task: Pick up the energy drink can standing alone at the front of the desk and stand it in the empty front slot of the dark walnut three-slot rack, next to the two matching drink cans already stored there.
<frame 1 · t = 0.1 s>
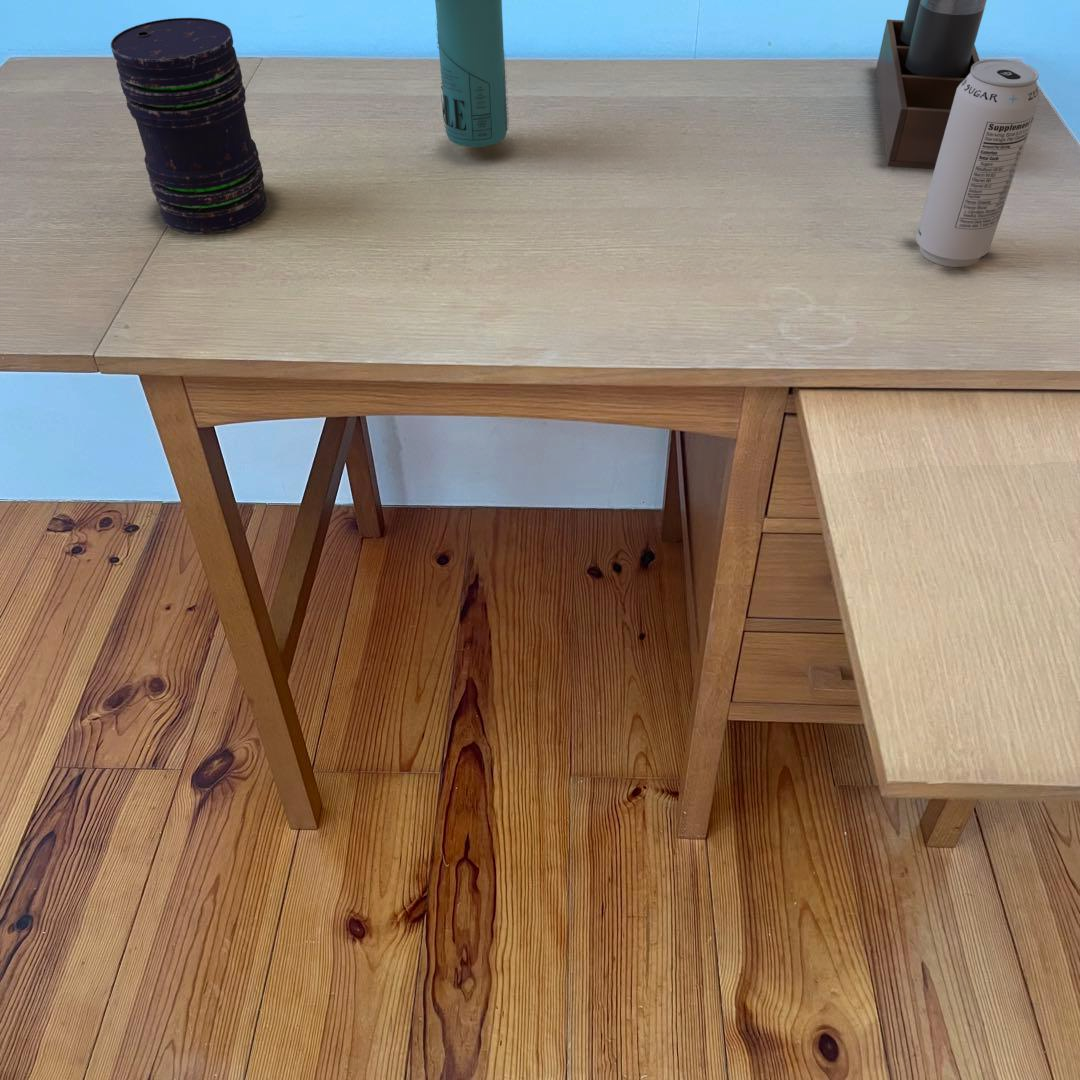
energy drink can: (948, 254, 86), on the table
beverage bottle: (477, 150, 102), on the table
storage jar: (215, 210, 93), on the table
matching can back: (918, 83, 111), resting on can rack
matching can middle: (924, 112, 105), resting on can rack
can rack: (923, 117, 106), on the table
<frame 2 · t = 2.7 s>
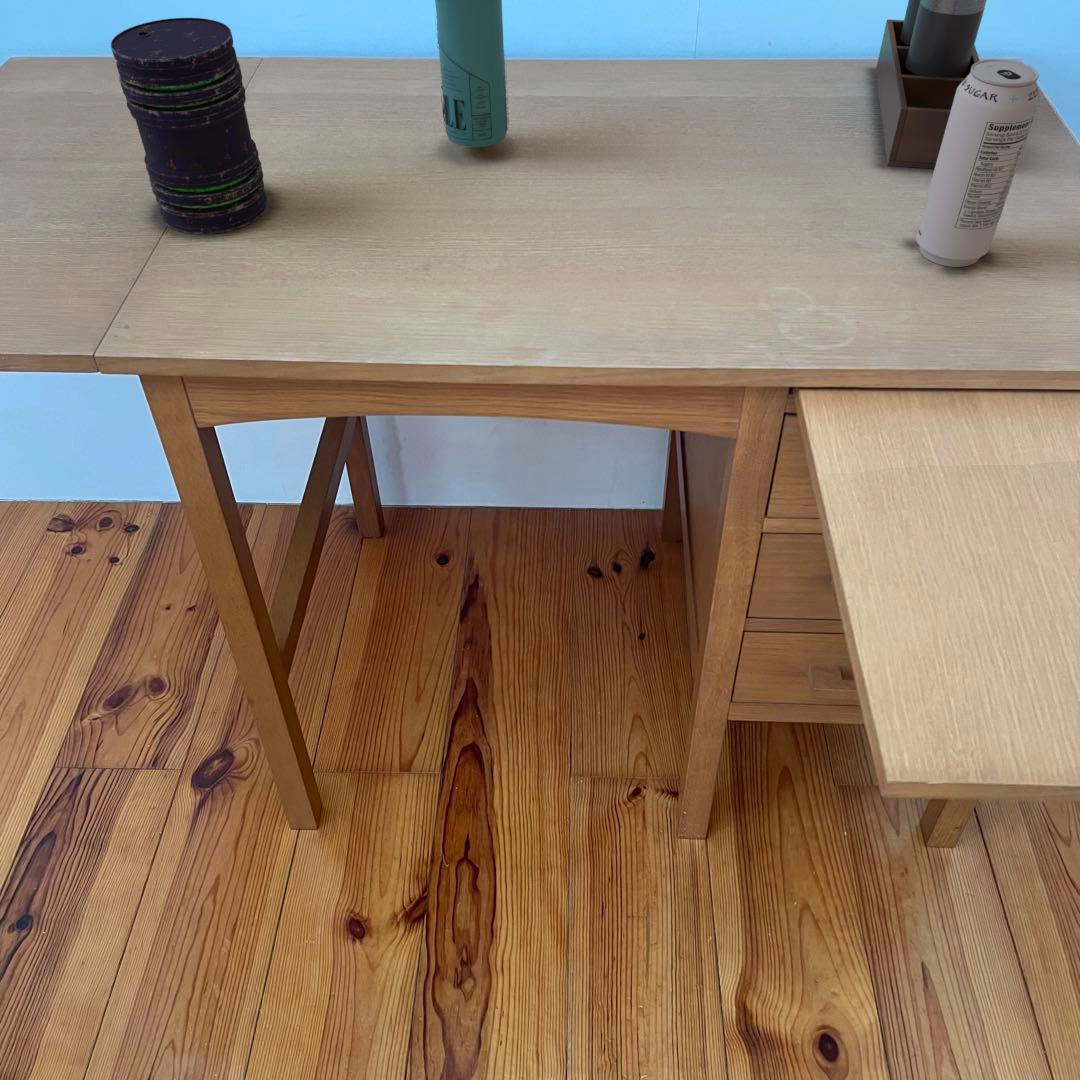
nothing on the table moved.
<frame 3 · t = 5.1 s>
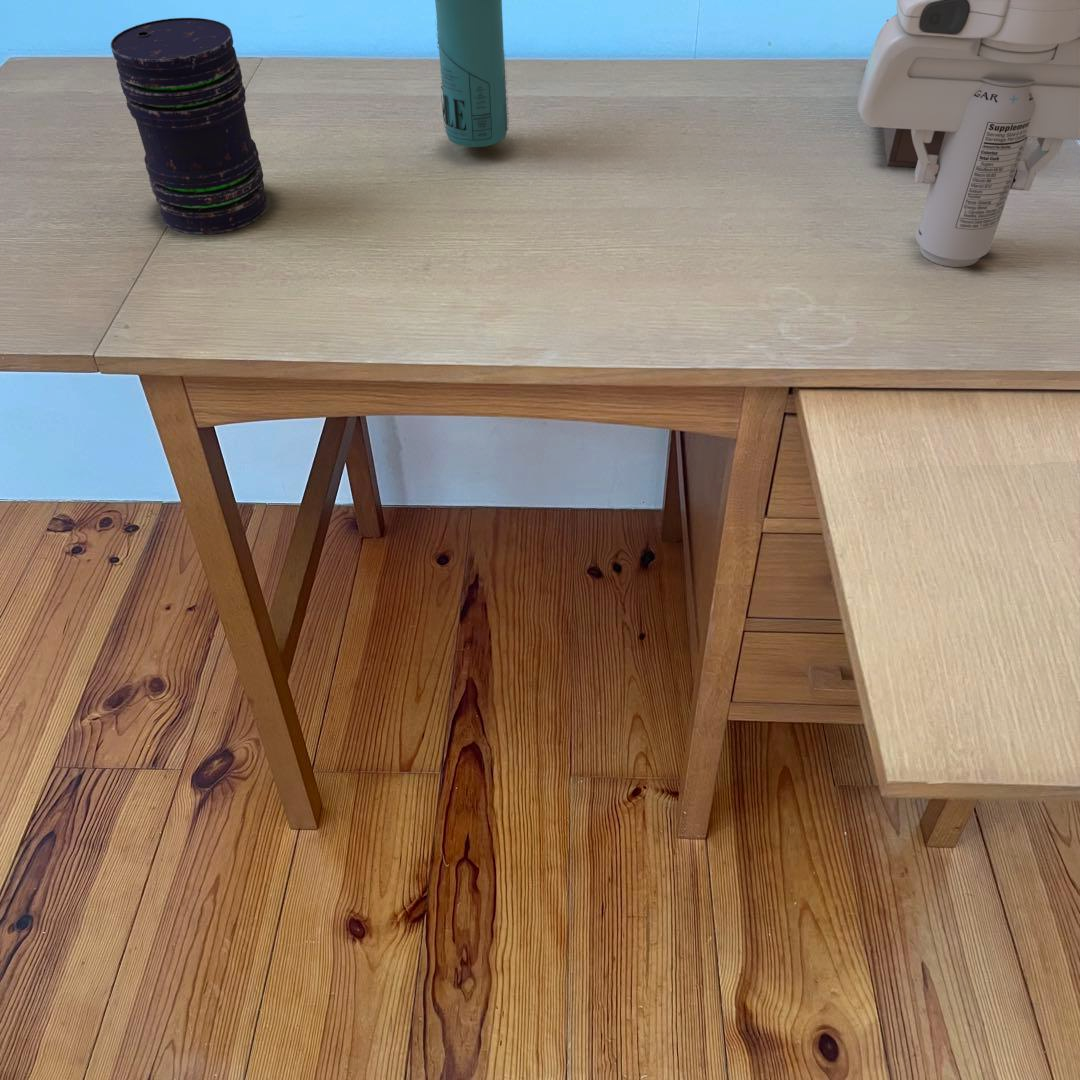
hand: (970, 183, 82), 6 cm above the table, tool pointing down, fingers closed on energy drink can, 6 cm apart
energy drink can: (948, 254, 86), on the table, touching gripper
everything else where it was.
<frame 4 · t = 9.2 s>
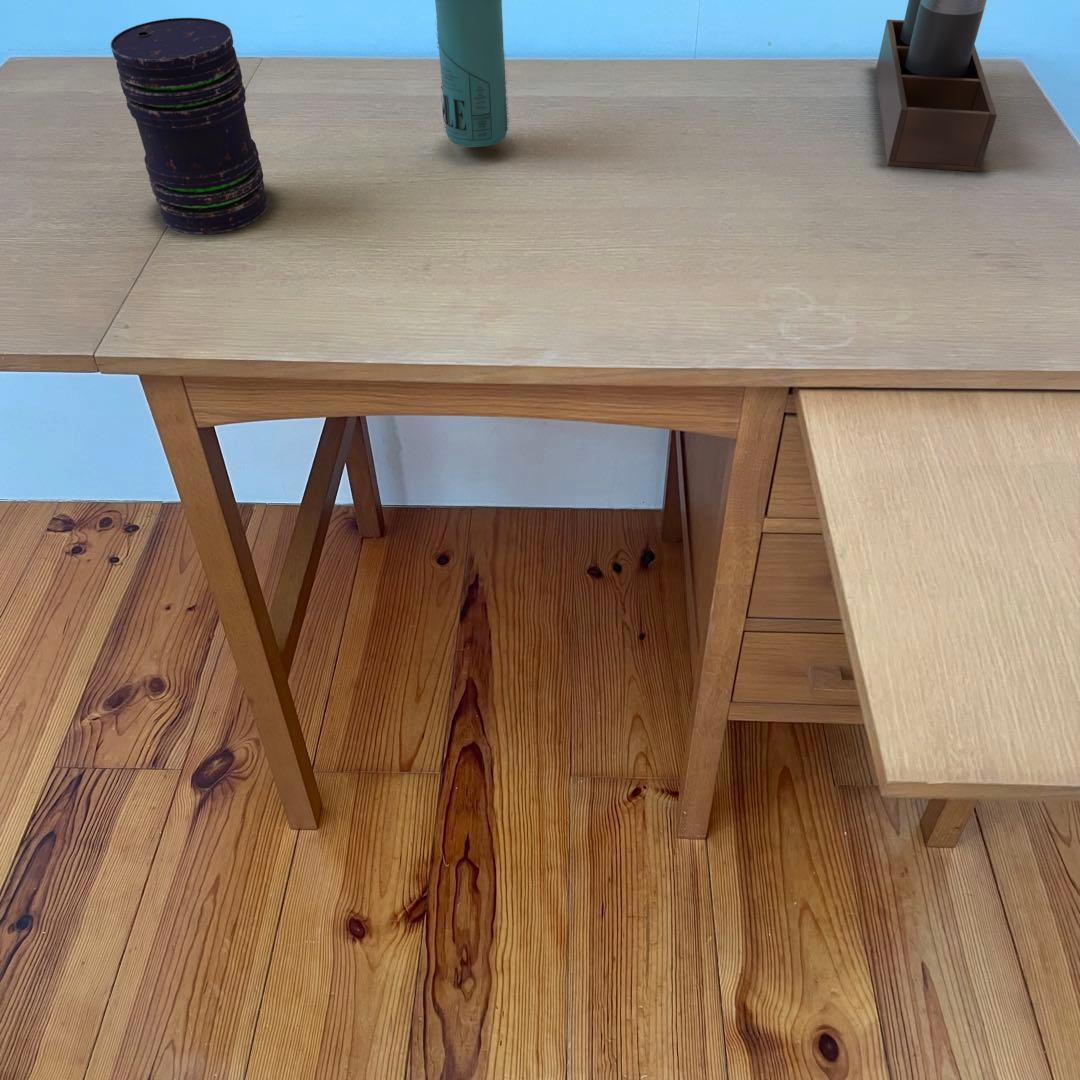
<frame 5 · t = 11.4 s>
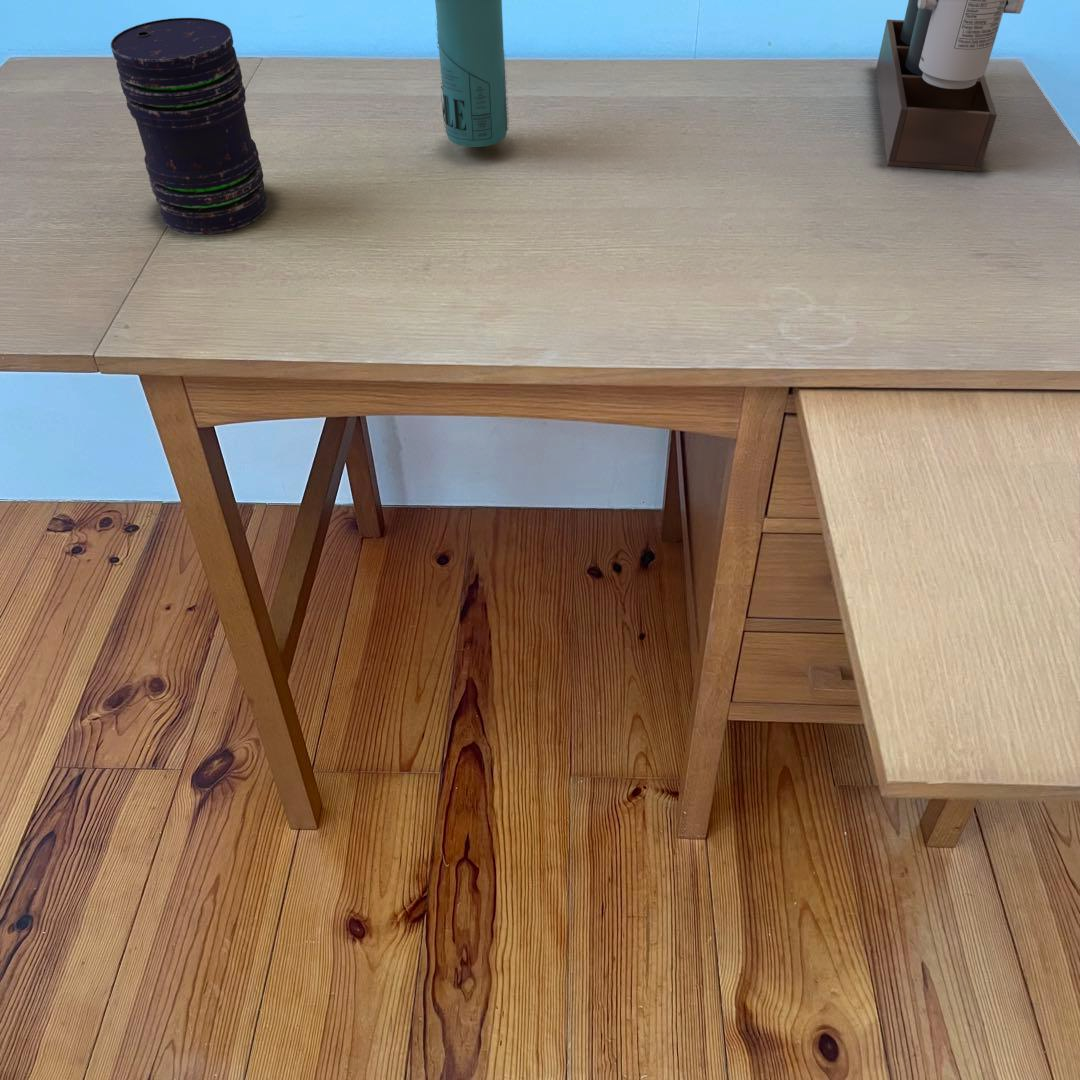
hand: (967, 9, 91), 13 cm above the table, tool pointing down, fingers closed on energy drink can, 6 cm apart
energy drink can: (948, 81, 95), point 7 cm above the table, touching gripper
everything else where it was.
when the fingers open (7 cm above the table, at t = 13.4 s): energy drink can stays where it is, resting on can rack.
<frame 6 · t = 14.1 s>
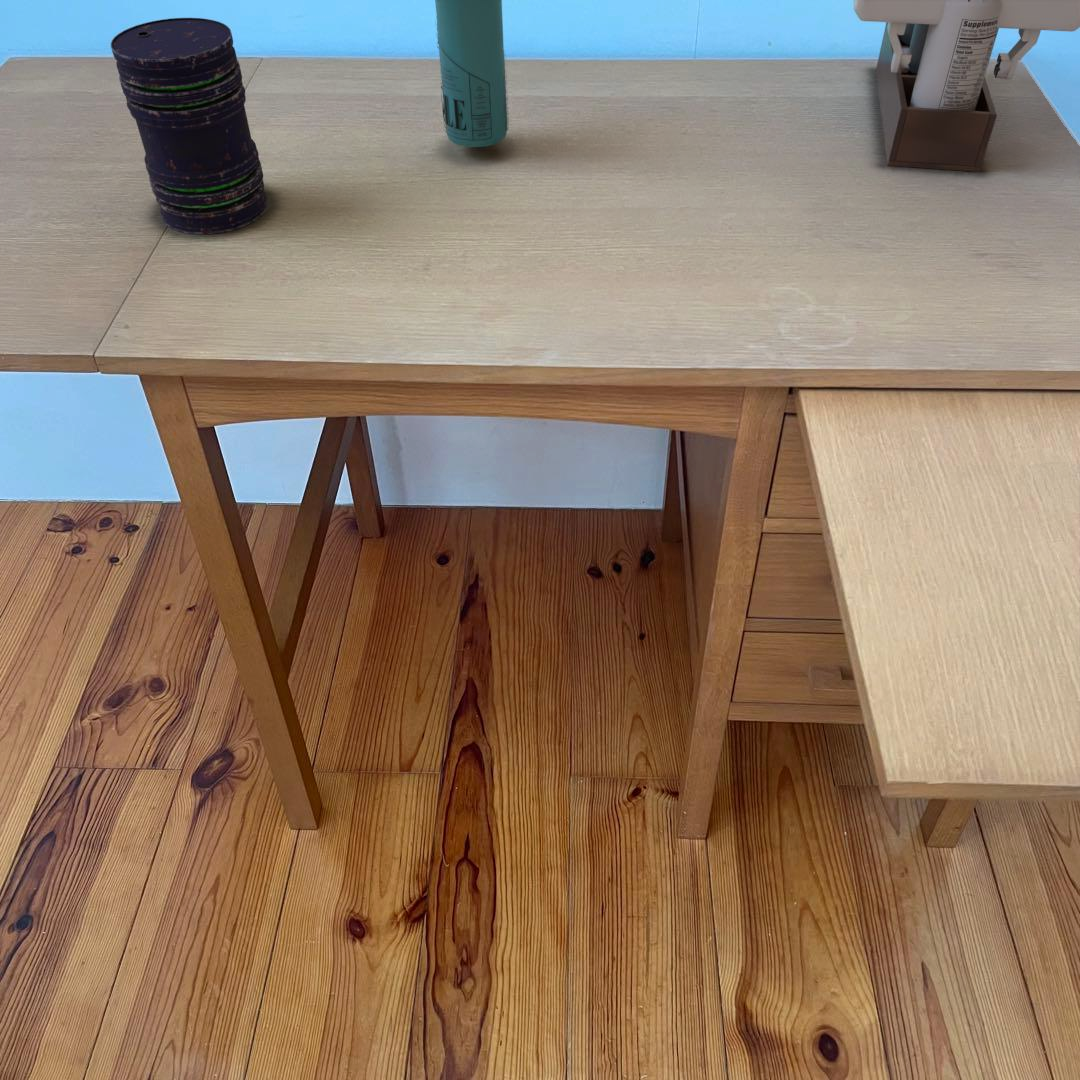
hand: (950, 73, 95), 7 cm above the table, tool pointing down, fingers open, 8 cm apart
energy drink can: (931, 144, 100), point 1 cm above the table, touching can rack
everything else where it was.
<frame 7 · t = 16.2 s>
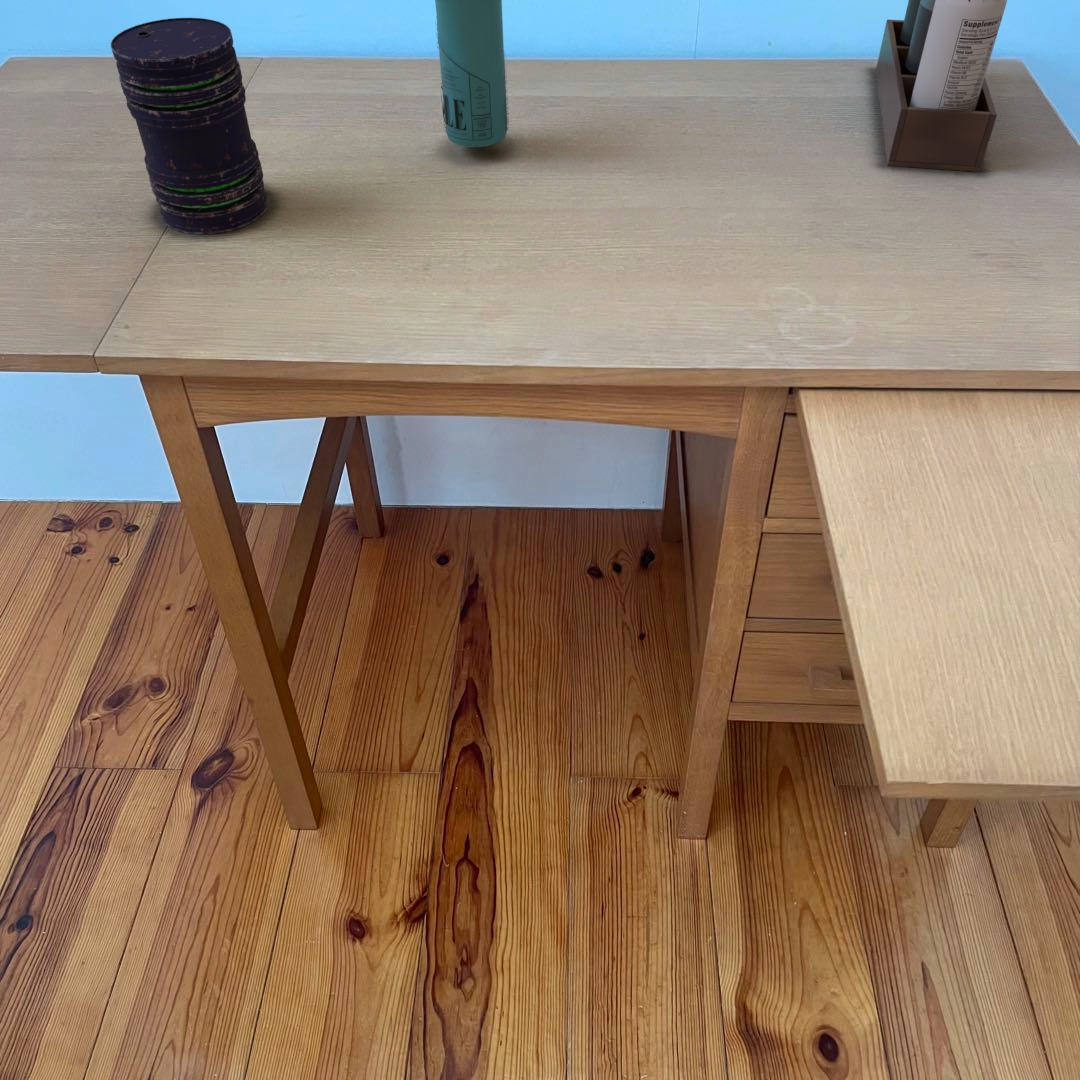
nothing on the table moved.
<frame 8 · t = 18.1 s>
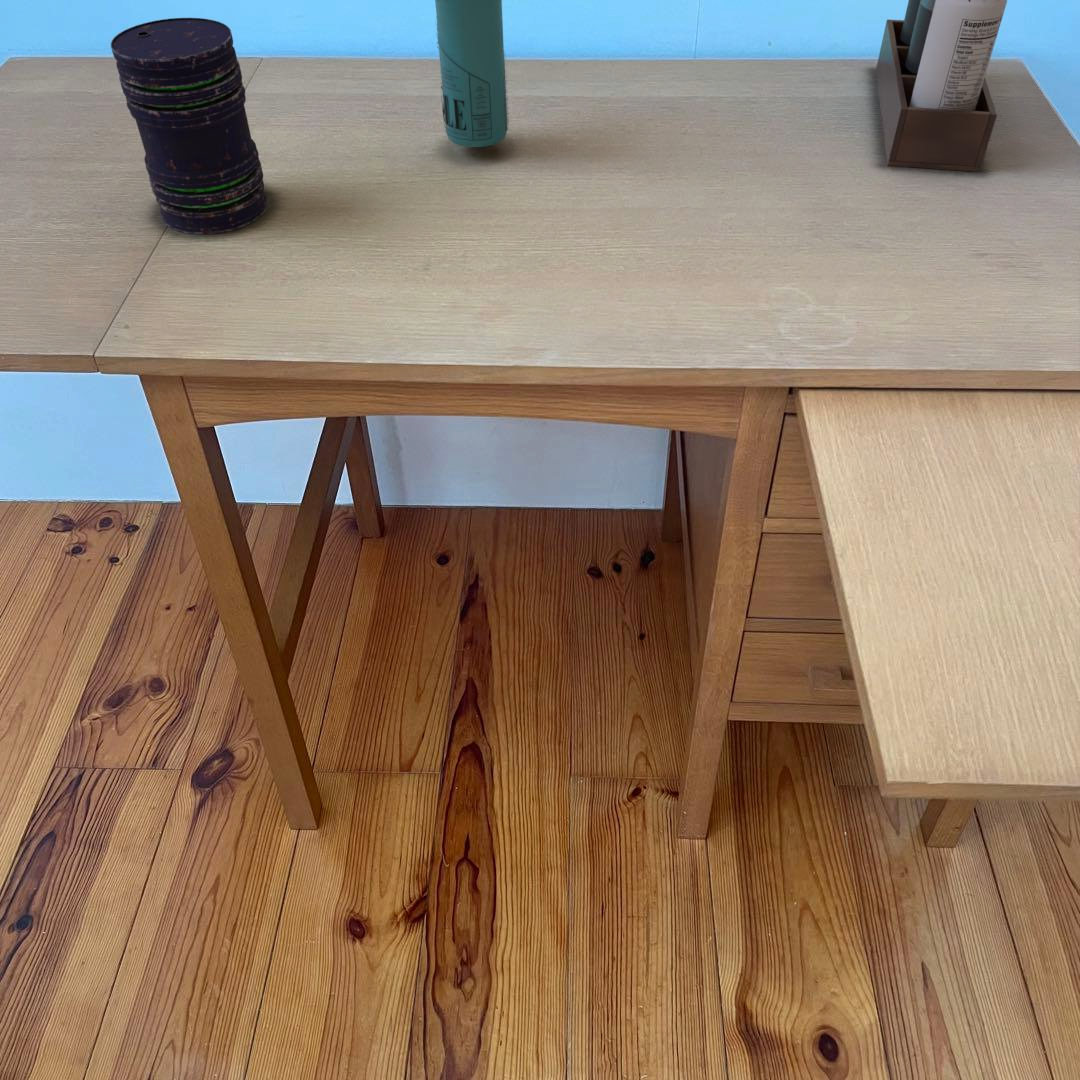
nothing on the table moved.
at the end: energy drink can 0.1 cm from the target spot in the can rack, point 0.5 cm above the can rack's base; energy drink can tilted 0°; the gripper is holding nothing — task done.
